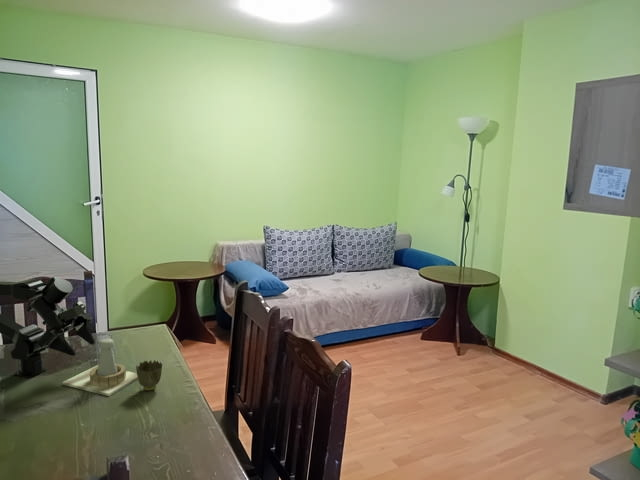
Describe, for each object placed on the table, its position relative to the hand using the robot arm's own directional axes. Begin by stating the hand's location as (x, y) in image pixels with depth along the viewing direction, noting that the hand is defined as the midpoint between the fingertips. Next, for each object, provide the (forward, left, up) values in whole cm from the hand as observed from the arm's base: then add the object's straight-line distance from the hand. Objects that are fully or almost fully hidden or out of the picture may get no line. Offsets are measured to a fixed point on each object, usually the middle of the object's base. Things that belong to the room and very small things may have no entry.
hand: (84, 349), depth 145 cm
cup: (+23, +3, -10) cm, 25 cm away
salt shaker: (+7, +1, -9) cm, 12 cm away
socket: (+6, +2, -10) cm, 12 cm away
